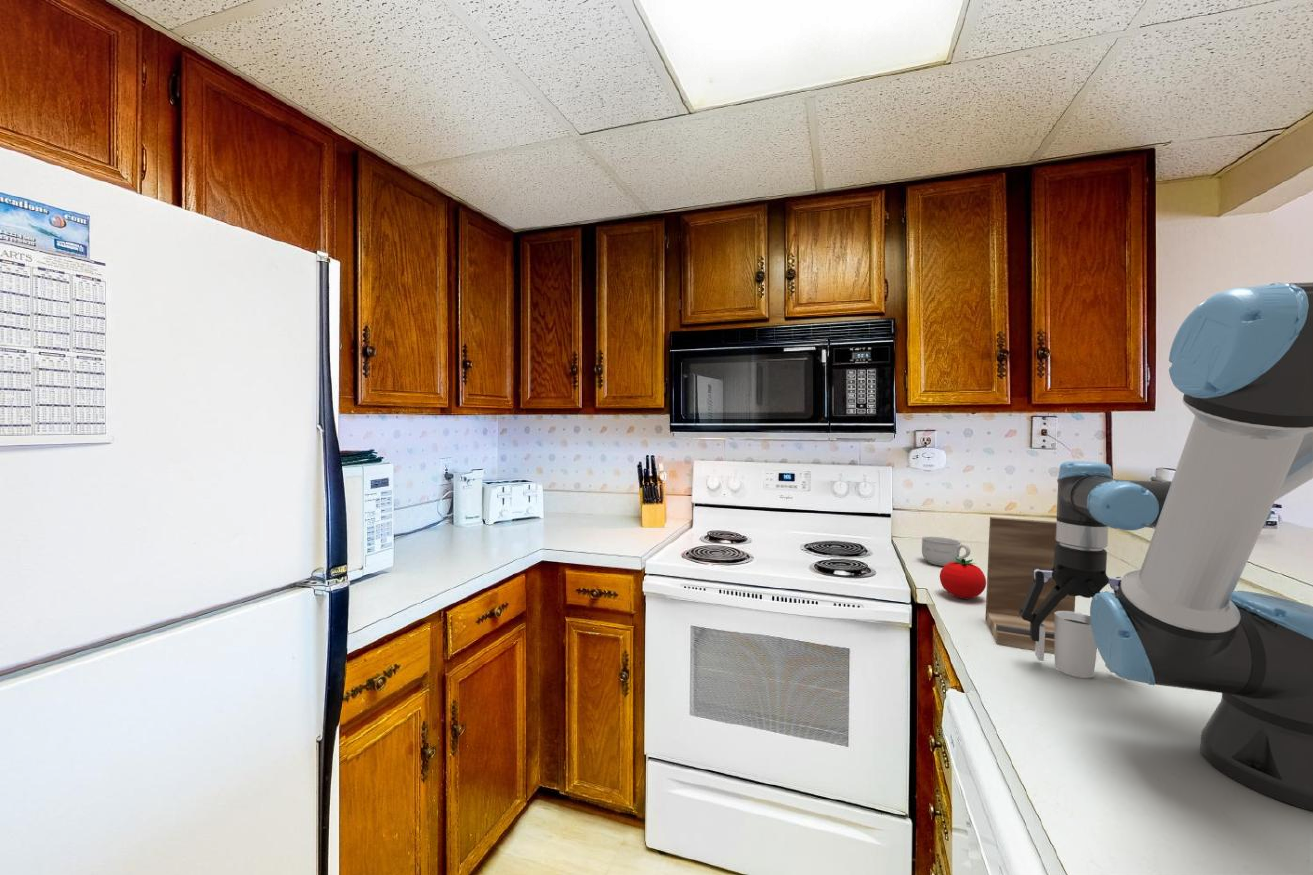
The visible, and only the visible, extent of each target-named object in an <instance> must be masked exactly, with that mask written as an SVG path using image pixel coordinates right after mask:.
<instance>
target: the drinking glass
mask: <svg viewBox="0 0 1313 875" xmlns="http://www.w3.org/2000/svg"><path fill="white" fill-rule="evenodd" d="M1076 612H1077V611H1076ZM1076 612H1070V611H1057V612H1055V613H1054V619H1055V653H1054V668H1055V669H1057V670H1058V671H1059V672H1061V673H1062V674H1065V675H1068V676H1070V677H1075V678H1080V679H1081V678H1082V679H1090V678H1091V679H1092V678H1093V677H1095V667H1096V662H1097V660H1096V659H1097V652H1098V648H1097V645H1096V643H1095V639H1094V636H1093V632H1092V627H1091V620H1090V615H1088V614H1084V613H1081V612H1077V613H1076Z"/></svg>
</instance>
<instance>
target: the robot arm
mask: <svg viewBox="0 0 1313 875" xmlns="http://www.w3.org/2000/svg"><path fill="white" fill-rule="evenodd" d="M1168 362H1169V363H1171V366H1170V367H1169V368H1168V373H1169V377H1170V380H1171V382H1172V384H1173V385H1174V387H1175V388H1176V389H1177V390H1178V391H1179V392H1180V393H1182V394H1183V396H1182V403H1183V404H1184V406H1185V407H1186V408H1187V409H1188V410H1189V411H1190V412H1191V413H1192V414H1193V415H1194V418H1193V421H1192V424H1191V427H1190V429H1189V431H1188V435H1187V437H1186V440H1185V442H1184V443H1185V444H1184V445H1183V449H1182V451H1181V452H1182V453H1181V455H1180V457H1179V460H1178V463H1177V466H1176V469H1175V472H1174V473H1173V477H1172V480H1171V481H1157V480H1154V481H1153V480H1131V479H1130V480H1129V479H1115V478H1113V473H1112V471H1113V470H1112V466H1110V465H1109V463H1105V462H1098V461H1097V462H1096V461H1095V462H1094V461H1080V460H1077V461H1076V460H1074V461H1073V460H1072V461H1071V460H1070V461H1069V460H1068V461H1064V462H1062V463H1061V464H1060V465H1059V469H1058V470H1059V472H1058V477H1057V479H1056V483H1057V496H1056V498H1057V499H1056V521H1055V522H1056V536H1055V539H1056V541H1058V542H1059V543H1057V544H1056V545H1055V553H1054V566H1053V568H1052V569H1051V571H1045V570H1039V569H1038V568H1035V569H1033V581H1032V583H1031V586H1030V588H1029V590H1028V593H1027V595H1026V597H1025V600H1024V602H1023V604H1022V607H1021V609H1020V611H1019V614H1020V616H1021V617H1022V619H1023V620H1026V621H1029V622H1030V637H1031V639H1032V640H1033V641H1036V647H1035V650H1034V656H1036V658H1037V660H1038V661H1040V662H1044V661H1045V660H1044V659H1045V652H1044V645H1045V626H1044V625H1043V623H1042V622H1043V621H1044V619H1045V618H1046V617H1047V616H1048V615H1049V614H1050V612H1051V611H1052V610H1053V609H1054V608H1055V607H1056V605H1057V604H1058V603H1059V602H1060V601H1061V600H1062V599H1064V598H1065V597H1066V596H1067V594H1068V595H1069V596H1075V597H1082V598H1087V599H1091V602H1090V608H1089V616H1090V620H1091V627H1092V632H1093V636H1094V639H1095V643H1096V645H1097V651H1098V653H1099V655H1100V657H1101V658H1102V661H1103V662H1104V667H1106V668H1107V670H1108V671H1109V673H1113V674H1114V675H1116V676H1118V677H1120V678H1122V679H1124V680H1127V681H1134V682H1136V683H1137V682H1138V683H1143V684H1147V685H1150V686H1155V685H1156V686H1163V687H1171V688H1179V689H1186V690H1195V691H1204V692H1211V693H1220V694H1221V698H1220V702H1219V703H1218V705H1217V707H1216V708H1215V710H1214V711H1213V713H1212V714H1211V716H1210V717H1209V719H1208V721H1207V722H1206V724H1205V726H1204V727H1203V728H1202V730H1201V733H1200V743H1199V751H1200V753H1201V755H1202V756H1203V758H1205V759H1206V760H1207V762H1208V763H1210V764H1211V765H1212V766H1214V767H1215V768H1216V769H1217V770H1218V771H1220V772H1221V773H1223V774H1225V775H1227V776H1228V777H1229V778H1231V779H1233V781H1236V782H1238V783H1240V784H1242V785H1244V786H1246V787H1248V788H1250V789H1252V790H1254V791H1257V792H1259V793H1261V794H1263V795H1265V796H1268V797H1270V798H1273V799H1276V800H1278V801H1281V802H1284V803H1287V804H1289V805H1292V806H1295V807H1298V808H1301V809H1305V810H1309V811H1312V812H1313V606H1312V605H1308V604H1306V603H1301V602H1298V601H1294V600H1289V599H1286V598H1282V597H1277V596H1273V595H1269V594H1264V593H1257V592H1252V591H1246V590H1236V591H1235V589H1236V587H1237V585H1238V583H1239V580H1240V578H1241V576H1242V574H1243V572H1244V570H1245V567H1246V566H1247V563H1248V560H1249V559H1250V556H1251V554H1252V552H1253V550H1254V548H1255V546H1256V543H1257V541H1258V539H1259V537H1260V535H1261V533H1262V530H1263V529H1264V528H1265V527H1266V525H1267V521H1269V520H1270V519H1271V516H1272V508H1273V506H1274V504H1275V502H1276V501H1278V500H1279V499H1281V498H1282V497H1284V496H1286V495H1288V494H1289V493H1291V492H1292V491H1294V490H1296V489H1298V488H1299V487H1301V486H1303V485H1304V484H1306V483H1308V482H1309V481H1310V480H1312V479H1313V282H1311V281H1309V282H1288V283H1287V282H1286V283H1284V282H1273V283H1267V284H1264V285H1255V286H1244V287H1243V286H1241V287H1234V288H1229V289H1226V290H1223V291H1219V292H1218V293H1215V294H1213V295H1212V296H1209V297H1208V299H1206V300H1205V301H1203V302H1201V303H1199V305H1197V306H1196V307H1195V308H1194V309H1193V310H1192V311H1191V312H1190V313H1189V314H1188V315H1187V316H1186V318H1185V319H1184V321H1183V322H1182V323H1181V324H1180V327H1179V328H1178V330H1177V332H1176V334H1175V336H1174V338H1173V342H1172V344H1171V346H1170V351H1169V356H1168ZM1109 527H1110V528H1111V529H1117V530H1118V529H1119V530H1121V531H1138V530H1142V529H1144V528H1148V529H1149V528H1152V529H1154V531H1153V533H1152V537H1151V540H1150V542H1149V545H1148V548H1147V550H1146V554H1145V556H1144V560H1143V562H1142V564H1141V567H1140V569H1136V570H1135V569H1134V570H1132V571H1129V572H1127V573H1125V574H1124V575H1123V577H1121V576H1116V577H1111V576H1108V574H1107V560H1108V559H1107V558H1108V551H1106V548H1107V547H1108V546H1109V545H1108V543H1109ZM1050 577H1052V578H1053V579H1054V581H1055V582H1056V585H1055V586H1054V587H1053V588H1052V591H1051V592H1050V593H1049V595H1048V596H1047V597H1046V598H1045V599H1044V601H1043V602H1042V603H1041V604H1040V605H1039V606H1038V608H1037V609H1036V610H1035V611H1034V612H1033V609H1034V607H1035V605H1036V603H1037V600H1038V598H1039V596H1040V593H1041V591H1042V589H1043V586H1044V582H1047V581H1048V579H1049V578H1050ZM1108 584H1109V586H1110V588H1111V589H1112V590H1113V592H1111V591H1107V590H1105V591H1104V592H1103V591H1102V590H1103V589H1104V588H1105V587H1107V585H1108ZM1032 612H1033V614H1032Z"/></svg>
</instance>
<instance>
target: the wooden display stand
mask: <svg viewBox="0 0 1313 875" xmlns="http://www.w3.org/2000/svg"><path fill="white" fill-rule="evenodd" d="M1056 522H1057V521H1046V520H1038V519H1037V520H1036V519H1035V520H1034V519H1022V518H1021V519H1020V518H1009V517H997V516H989V527H988V528H989V531H988V533H989V534H988V550H987V551H988V552H987V573H986V574H987V575H986V576H987V578H986V595H985V597H986V598H985V599H986V600H985V615H984V616H985V618H984V619H985V622H986V624H987V626H988V628H989V631H990V632H991V634H992V637H993V638H994V640H995V642H996V644H997V645H999V646H1000V645H1001V646H1007V647H1011V648H1012V647H1013V648H1019V649H1025V650H1026V649H1027V650H1032V651H1035V647H1036V641H1033V640H1032V639H1031V637H1030V622H1029V621H1026V620H1023V619H1022V617H1021V616H1020V614H1019V611H1020V609H1021V607H1022V604H1023V602H1024V600H1025V597H1026V595H1027V593H1028V590H1029V588H1030V586H1031V583H1032V581H1033V569H1035V568H1038V569H1039V570H1045V571H1051V569H1052V568H1053V566H1054V553H1055V545H1056V544H1057V543H1059V542H1058V541H1056V539H1055V536H1056ZM1055 585H1056V582H1055V581H1054V579H1053V578H1052V577H1050V578H1049V579H1048V581H1047V582H1044V586H1043V589H1042V591H1041V593H1040V596H1039V598H1038V600H1037V603H1036V605H1035V607H1034V609H1033V612H1034V611H1035V610H1036V609H1037V608H1038V606H1039V605H1040V604H1041V603H1042V602H1043V601H1044V599H1045V598H1046V597H1047V596H1048V595H1049V593H1050V592H1051V591H1052V588H1053V587H1054V586H1055ZM1057 611H1070V612H1075V611H1076V596H1069V595H1068V594H1067V596H1066V597H1065V598H1064V599H1062V600H1061V601H1060V602H1059V603H1058V604H1057V605H1056V607H1055V608H1054V609H1053V610H1052V611H1051V612H1050V614H1049V615H1048V616H1047V617H1046V618H1045V619H1044V621H1043V622H1042V623H1043V625H1044V626H1045V645H1044V653H1051V654H1055V619H1054V613H1055V612H1057ZM1033 612H1032V614H1033Z"/></svg>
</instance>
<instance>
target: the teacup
mask: <svg viewBox="0 0 1313 875" xmlns="http://www.w3.org/2000/svg"><path fill="white" fill-rule="evenodd" d="M921 539H922V541H921V554H922V558H924V559H925V560H926V561H927V562H928V563H929V564H932V565H936V566H940V567H944V566H945V565H946V564H948V563H950V562H954V561H957V560H956V559H955V557H956V558H958V559H960V560H961V559H966V558H968V557H969V556H970V554H971V548H970V547H969V546H968V545H967V544H965V543H962V544H961V541H960V540H958V539H955V538H954V539H953V538H949V537H943V536H934V535H933V536H930V535H929V536H926V535H925V536H922V537H921ZM961 548H963V549H965V554H964V555H961V556H960V551H961ZM951 560H952V561H951ZM957 562H958V561H957Z"/></svg>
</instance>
